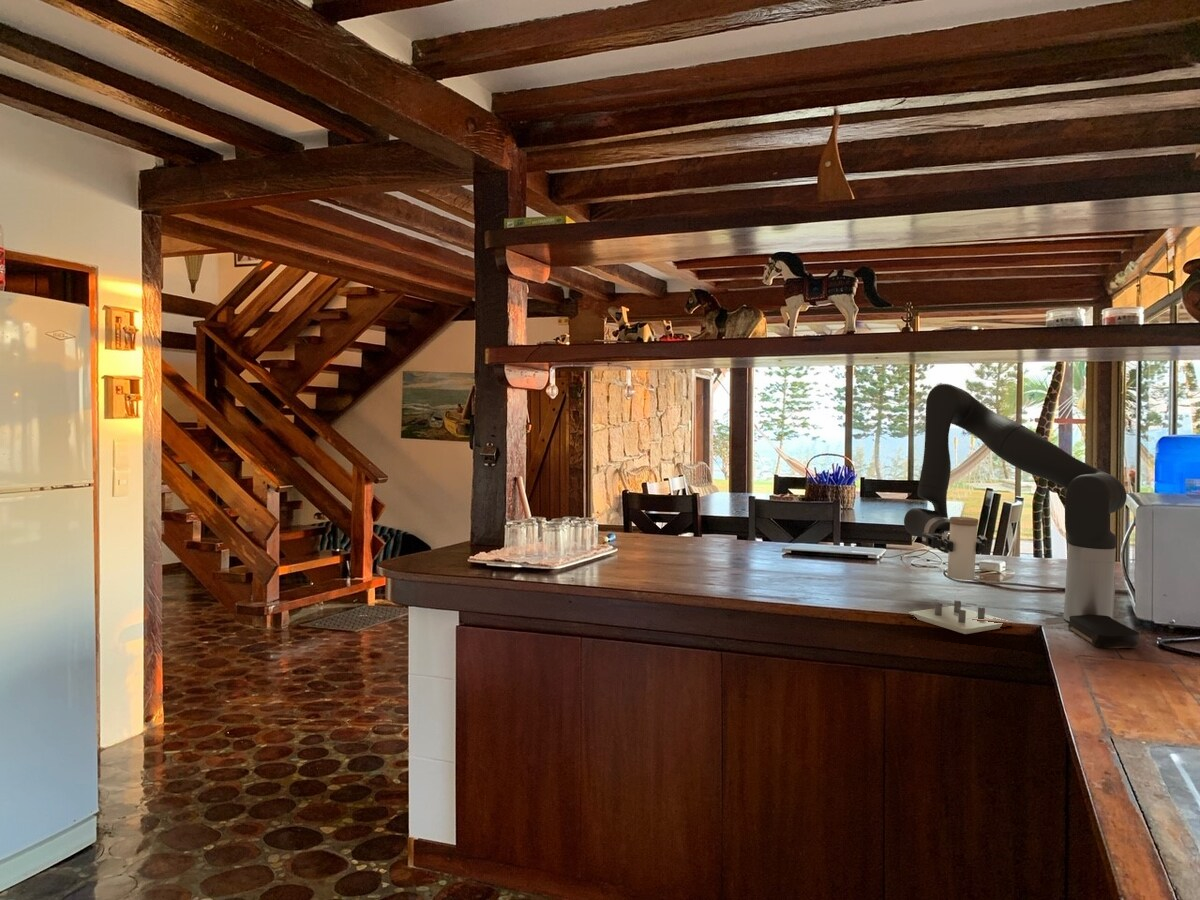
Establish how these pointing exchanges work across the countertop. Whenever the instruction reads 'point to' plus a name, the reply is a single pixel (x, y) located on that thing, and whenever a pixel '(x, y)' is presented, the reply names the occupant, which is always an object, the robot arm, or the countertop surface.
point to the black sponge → (1104, 631)
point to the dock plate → (957, 618)
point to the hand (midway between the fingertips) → (966, 547)
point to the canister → (962, 548)
